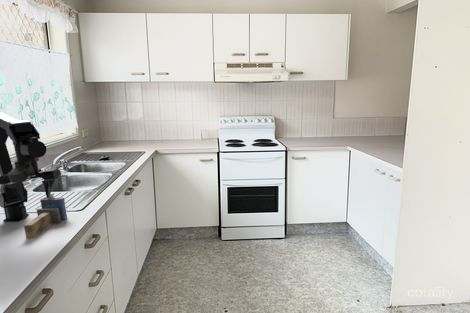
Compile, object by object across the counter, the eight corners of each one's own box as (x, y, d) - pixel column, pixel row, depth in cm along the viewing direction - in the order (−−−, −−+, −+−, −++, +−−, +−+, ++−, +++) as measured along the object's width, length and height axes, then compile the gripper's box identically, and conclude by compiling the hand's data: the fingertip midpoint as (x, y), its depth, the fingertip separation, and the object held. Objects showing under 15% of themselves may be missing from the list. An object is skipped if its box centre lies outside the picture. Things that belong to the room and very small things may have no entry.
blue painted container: (68, 217, 129) (64, 192, 126) (64, 220, 126) (60, 195, 123) (45, 218, 129) (41, 193, 126) (41, 221, 126) (36, 196, 123)
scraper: (41, 238, 112) (38, 222, 110) (18, 238, 112) (15, 223, 110) (61, 222, 124) (58, 208, 123) (40, 223, 124) (38, 208, 123)
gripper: (-18, 164, 103) (-7, 209, 106) (40, 158, 104) (50, 203, 107) (4, 158, 114) (14, 199, 117) (57, 152, 115) (65, 194, 118)
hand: (35, 199), depth 114 cm, fingers open, 9 cm apart
